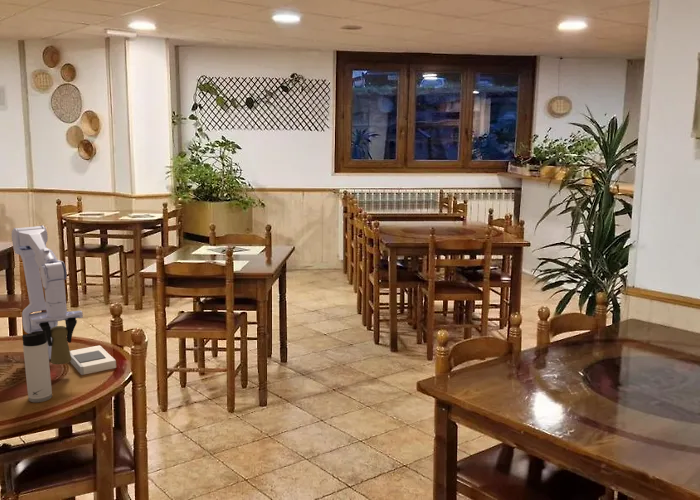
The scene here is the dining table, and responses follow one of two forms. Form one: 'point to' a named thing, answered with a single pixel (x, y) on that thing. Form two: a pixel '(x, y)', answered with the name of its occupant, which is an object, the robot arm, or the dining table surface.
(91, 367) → the dock board
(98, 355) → the mat
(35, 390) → the travel mug
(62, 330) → the cork
